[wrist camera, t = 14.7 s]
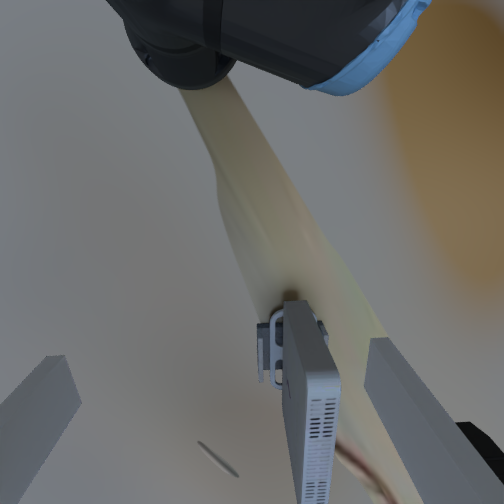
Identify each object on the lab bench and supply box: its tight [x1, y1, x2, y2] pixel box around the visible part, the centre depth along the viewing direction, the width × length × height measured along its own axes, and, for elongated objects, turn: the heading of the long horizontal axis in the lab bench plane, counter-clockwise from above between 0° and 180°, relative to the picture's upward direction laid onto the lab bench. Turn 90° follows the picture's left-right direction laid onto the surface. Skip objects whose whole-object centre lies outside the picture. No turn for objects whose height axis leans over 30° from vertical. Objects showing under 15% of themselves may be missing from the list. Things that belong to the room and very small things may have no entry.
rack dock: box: [257, 321, 329, 382], centre depth 51 cm, size 10×13×4 cm
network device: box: [270, 300, 341, 504], centre depth 43 cm, size 26×9×20 cm, turn 2°
